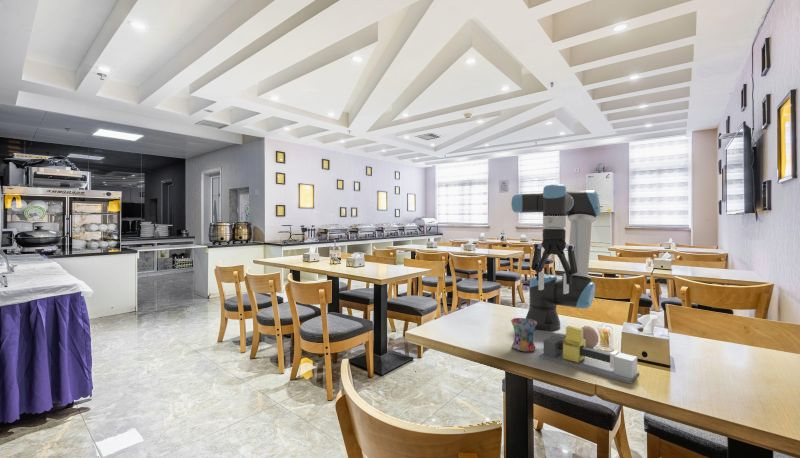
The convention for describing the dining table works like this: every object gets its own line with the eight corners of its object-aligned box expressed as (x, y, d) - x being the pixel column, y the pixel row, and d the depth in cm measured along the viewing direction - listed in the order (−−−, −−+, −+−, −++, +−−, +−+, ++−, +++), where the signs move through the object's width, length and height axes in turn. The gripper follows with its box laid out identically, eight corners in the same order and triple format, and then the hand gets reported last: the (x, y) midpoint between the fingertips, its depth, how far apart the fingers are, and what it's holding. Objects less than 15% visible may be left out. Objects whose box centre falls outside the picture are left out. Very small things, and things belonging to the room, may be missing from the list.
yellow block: (570, 353, 127) (570, 324, 127) (585, 357, 124) (585, 327, 123) (562, 358, 123) (563, 328, 123) (578, 362, 119) (578, 331, 119)
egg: (597, 346, 139) (597, 324, 139) (599, 352, 132) (599, 329, 132) (576, 343, 142) (577, 322, 142) (577, 349, 135) (577, 327, 135)
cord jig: (551, 350, 134) (552, 332, 134) (639, 374, 114) (639, 353, 113) (539, 357, 127) (539, 338, 127) (629, 383, 107) (630, 361, 107)
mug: (530, 355, 129) (530, 326, 129) (506, 349, 136) (506, 321, 135) (543, 347, 138) (544, 319, 137) (521, 341, 144) (521, 315, 144)
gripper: (521, 228, 133) (520, 288, 133) (580, 229, 117) (579, 297, 118) (531, 227, 138) (530, 286, 139) (589, 228, 122) (588, 294, 123)
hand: (553, 291), depth 128 cm, fingers open, 8 cm apart
